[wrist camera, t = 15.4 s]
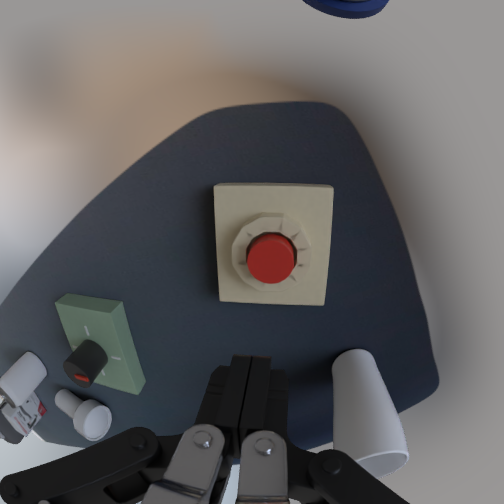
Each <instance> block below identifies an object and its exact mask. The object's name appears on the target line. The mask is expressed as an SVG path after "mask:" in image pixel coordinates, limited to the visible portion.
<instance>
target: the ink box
mask: <svg viewBox="0 0 504 504" xmlns="http://www.w3.org/2000/svg"><path fill="white" fill-rule="evenodd" d="M1 411H2V413H3V414H4V416H5V417H6V419H7V420H8V421H9V422H10V424H11V425H12V426H13V427H14V429H15V430H16V431H18V432H19V433H21V434H22V435H24V436H25V437H27V436H28V434H29V433H30V431H31V430H32V429H33V428H34V426H35V425H36V424H37V422H38V421H39V420H40V418H41V417H42V416H43V415H44V413H45V412H46V409H45V408H44V406H43V405H42V403H41V402H40V400H39V399H38V397H37V395H36V394H35V392H34V391H33V392H32V393H31V394H30V395H29V397H28V398H27V399H26V400H25V401H24V402H23V404H22V405H20V406H17V407H16V408H13V407H12V406H10V405H9V404H8V403H7V404H6V405H5V406H4V408H3V409H2V410H1Z"/></svg>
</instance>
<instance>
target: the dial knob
mask: <svg viewBox="0 0 504 504" xmlns="http://www.w3.org/2000/svg"><path fill="white" fill-rule="evenodd" d="M107 363H108V357H107V354H106V352H105V351H104V349H103V348H102V347H101V346H100V345H99V344H97V343H96V342H94V341H92V340H88V339H86V340H84V341H83V342H82V343H81V344H80V345H79V346H78V347H77V348H76V349H75V351H74V352H73V353H72V354H71V355H70V356H69V357H68V358H67V359H66V360H65V362H64V363H63V368H64V371H65V372H66V374H67V375H68V377H69V378H70V379H71V380H72V381H73V382H74V383H76V384H77V385H79V386H81V387H84V388H88V387H90V386H91V384H92V383H93V382H94V380H95V379H96V378H97V376H98V375H99V373H100V372H101V371H102V369H103V368H104V367H105V365H106V364H107Z"/></svg>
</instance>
